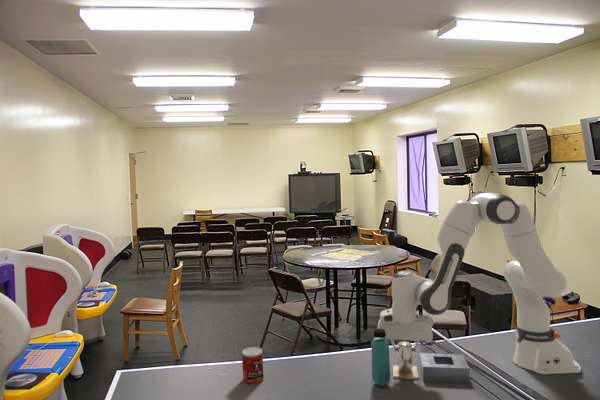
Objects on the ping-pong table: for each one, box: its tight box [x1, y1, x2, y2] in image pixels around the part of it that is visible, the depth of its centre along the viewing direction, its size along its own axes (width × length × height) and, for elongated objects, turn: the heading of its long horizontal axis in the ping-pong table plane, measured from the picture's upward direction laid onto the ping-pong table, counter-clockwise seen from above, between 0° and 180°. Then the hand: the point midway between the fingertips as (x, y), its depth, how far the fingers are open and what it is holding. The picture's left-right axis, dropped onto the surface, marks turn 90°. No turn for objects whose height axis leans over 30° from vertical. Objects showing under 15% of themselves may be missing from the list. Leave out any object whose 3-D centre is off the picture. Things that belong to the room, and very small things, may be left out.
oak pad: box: [392, 364, 420, 380], centre depth 163 cm, size 9×9×1 cm
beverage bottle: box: [370, 328, 391, 386], centre depth 154 cm, size 6×7×20 cm
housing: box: [419, 352, 471, 383], centre depth 161 cm, size 16×12×5 cm
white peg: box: [397, 341, 413, 373], centre depth 162 cm, size 5×5×10 cm
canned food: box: [241, 346, 265, 385], centre depth 161 cm, size 8×8×11 cm
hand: (404, 351), depth 162 cm, fingers closed on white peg, 5 cm apart
